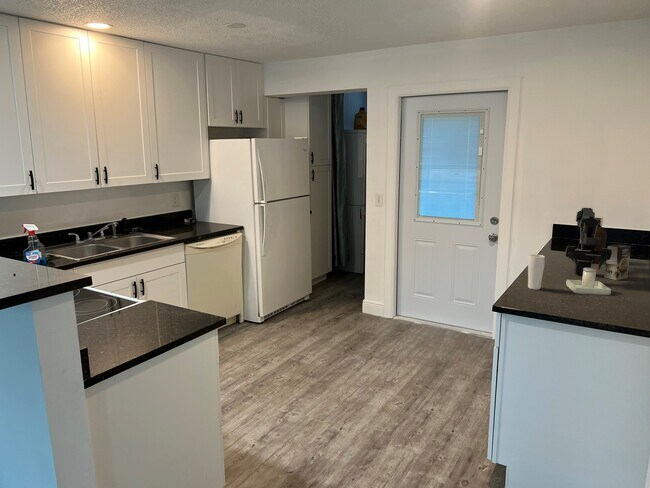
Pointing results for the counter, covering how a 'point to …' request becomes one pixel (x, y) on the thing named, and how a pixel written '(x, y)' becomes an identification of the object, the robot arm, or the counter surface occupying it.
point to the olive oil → (601, 233)
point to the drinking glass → (535, 271)
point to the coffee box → (618, 262)
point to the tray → (598, 288)
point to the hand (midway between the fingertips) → (587, 268)
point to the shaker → (588, 278)
